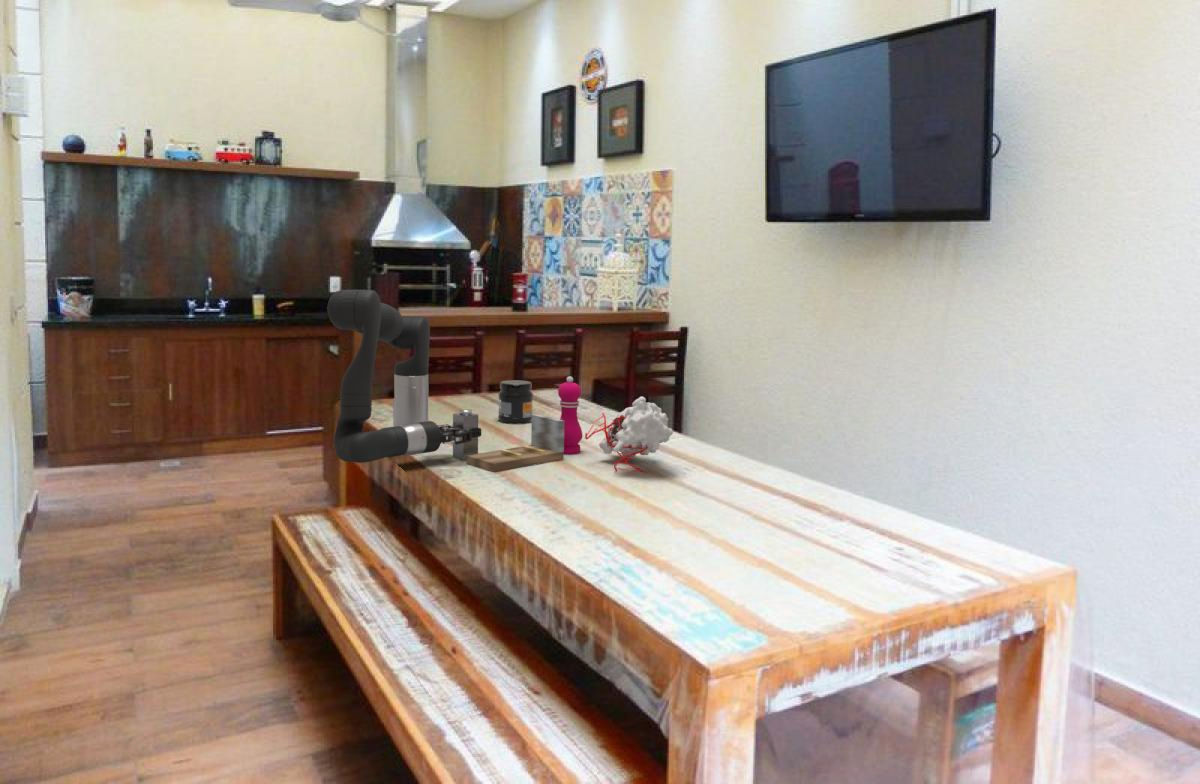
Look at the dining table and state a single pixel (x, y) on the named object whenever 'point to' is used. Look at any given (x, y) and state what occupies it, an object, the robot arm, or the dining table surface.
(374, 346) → the robot arm
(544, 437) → the wooden base metal fixture
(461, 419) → the metal square bar
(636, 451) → the lumpy white molecule
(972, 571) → the dining table surface
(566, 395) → the pepper mill
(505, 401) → the supplement container
